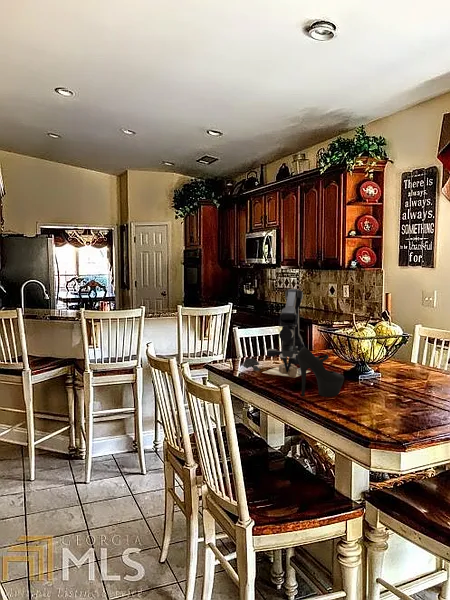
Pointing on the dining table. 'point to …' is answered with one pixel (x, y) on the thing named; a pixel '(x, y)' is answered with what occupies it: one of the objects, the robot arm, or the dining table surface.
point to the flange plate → (291, 371)
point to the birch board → (277, 372)
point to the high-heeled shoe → (319, 374)
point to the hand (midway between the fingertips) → (287, 372)
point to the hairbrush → (251, 364)
